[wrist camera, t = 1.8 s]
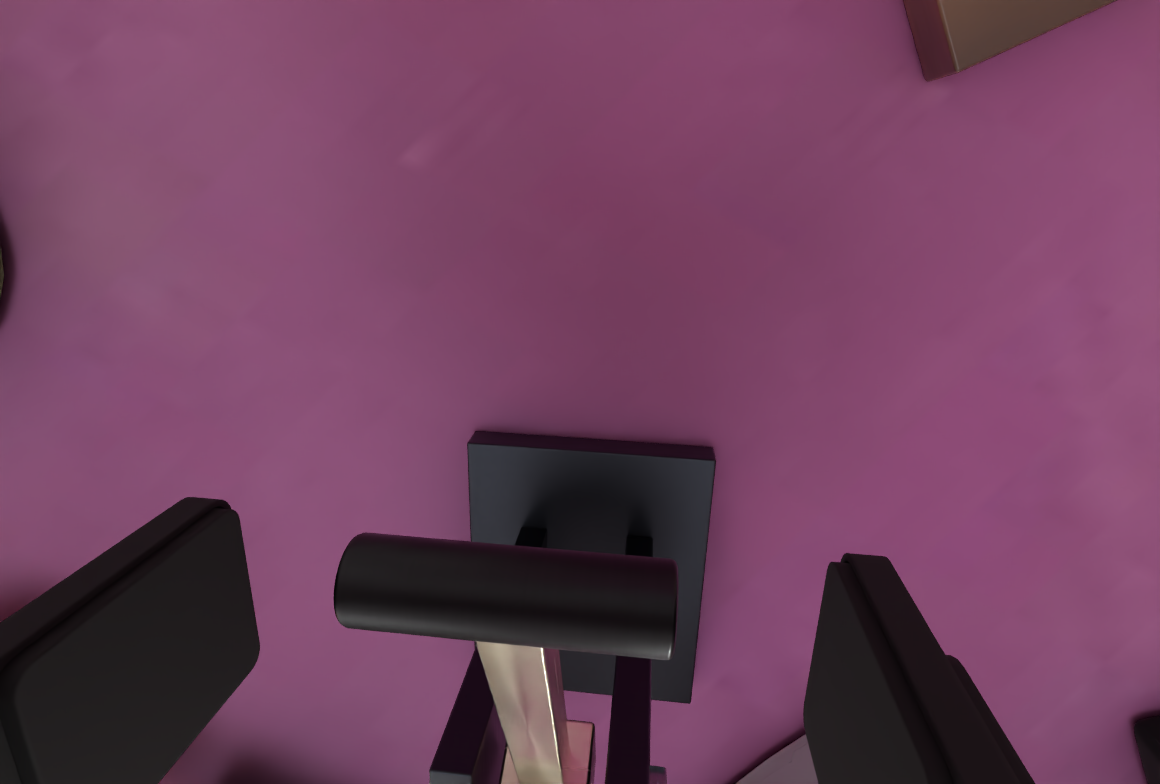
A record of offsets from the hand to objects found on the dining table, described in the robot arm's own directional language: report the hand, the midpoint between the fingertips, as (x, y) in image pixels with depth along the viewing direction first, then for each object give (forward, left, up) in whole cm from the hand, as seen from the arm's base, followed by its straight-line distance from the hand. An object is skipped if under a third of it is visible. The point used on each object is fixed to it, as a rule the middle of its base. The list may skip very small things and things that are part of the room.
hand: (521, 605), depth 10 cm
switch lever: (+4, 0, -3) cm, 5 cm away
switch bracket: (+9, 0, -14) cm, 17 cm away
